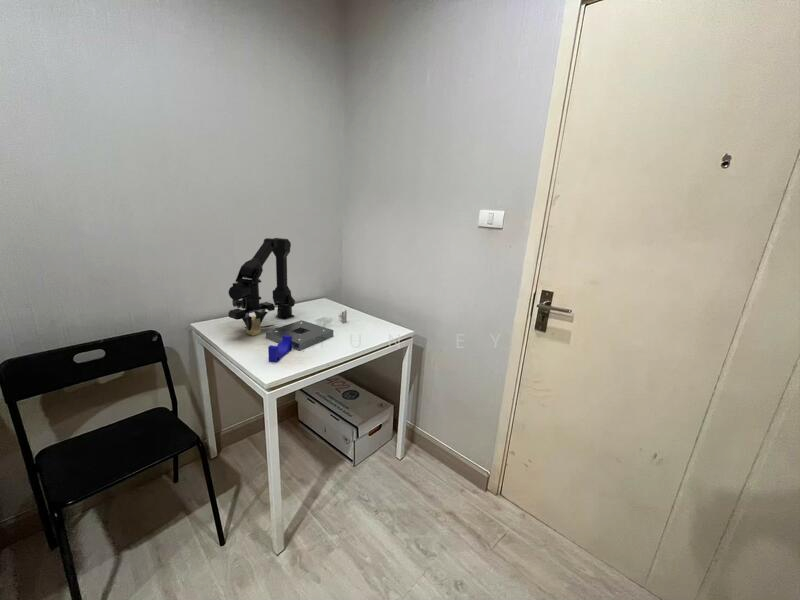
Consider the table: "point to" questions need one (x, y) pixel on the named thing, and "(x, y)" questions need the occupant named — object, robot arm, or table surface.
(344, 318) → the architectural model
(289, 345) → the blue u-shaped bracket
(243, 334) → the table surface
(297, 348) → the grey square mounting plate
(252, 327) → the tan wooden block
